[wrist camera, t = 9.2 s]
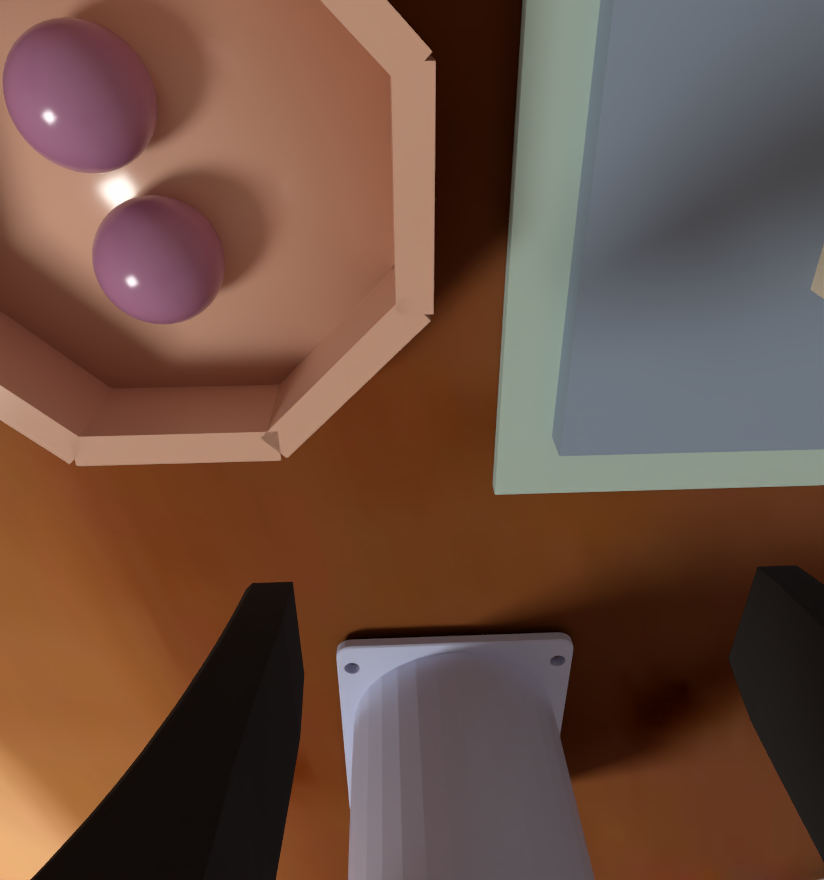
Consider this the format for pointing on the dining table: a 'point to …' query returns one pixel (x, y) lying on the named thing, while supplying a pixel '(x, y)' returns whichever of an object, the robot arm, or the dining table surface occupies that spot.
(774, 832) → the dining table surface
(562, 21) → the mat
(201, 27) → the bowl
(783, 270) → the lid
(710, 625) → the dining table surface
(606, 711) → the dining table surface
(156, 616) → the dining table surface
